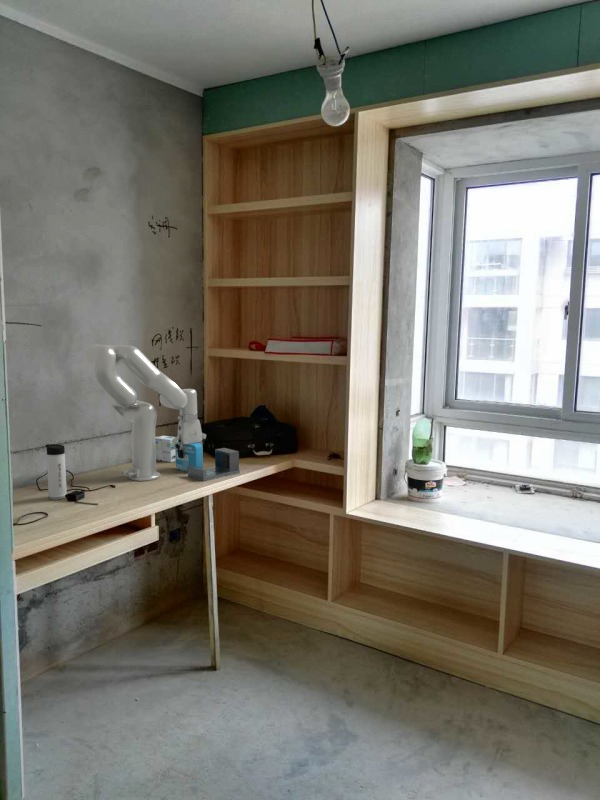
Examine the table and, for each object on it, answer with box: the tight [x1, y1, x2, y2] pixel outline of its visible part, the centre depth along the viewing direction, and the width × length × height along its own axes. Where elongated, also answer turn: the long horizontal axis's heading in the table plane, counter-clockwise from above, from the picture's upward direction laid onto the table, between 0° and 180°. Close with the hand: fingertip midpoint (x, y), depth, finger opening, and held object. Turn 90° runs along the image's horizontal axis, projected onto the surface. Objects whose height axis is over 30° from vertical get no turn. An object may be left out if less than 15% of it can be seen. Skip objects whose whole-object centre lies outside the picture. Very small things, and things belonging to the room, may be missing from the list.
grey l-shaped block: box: [187, 447, 241, 482], centre depth 268 cm, size 19×11×10 cm, turn 135°
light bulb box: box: [155, 435, 178, 463], centre depth 295 cm, size 11×7×11 cm, turn 58°
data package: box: [175, 443, 204, 472], centre depth 276 cm, size 12×4×12 cm, turn 58°
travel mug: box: [44, 443, 68, 501], centre depth 232 cm, size 6×7×20 cm
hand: (190, 456), depth 276 cm, fingers open, 9 cm apart
